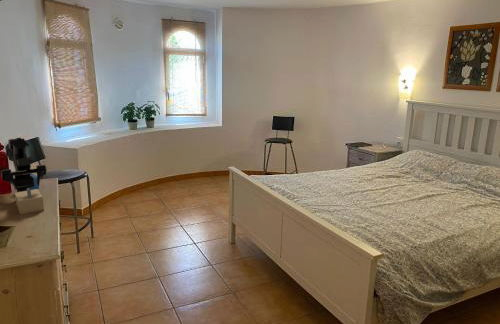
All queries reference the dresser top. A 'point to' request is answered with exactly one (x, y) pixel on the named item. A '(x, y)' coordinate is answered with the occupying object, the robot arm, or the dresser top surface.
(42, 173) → the robot arm
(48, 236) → the dresser top surface
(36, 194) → the carton lid
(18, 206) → the carton
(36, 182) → the perfume bottle
